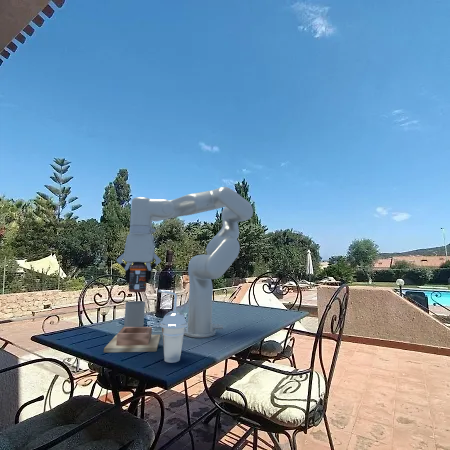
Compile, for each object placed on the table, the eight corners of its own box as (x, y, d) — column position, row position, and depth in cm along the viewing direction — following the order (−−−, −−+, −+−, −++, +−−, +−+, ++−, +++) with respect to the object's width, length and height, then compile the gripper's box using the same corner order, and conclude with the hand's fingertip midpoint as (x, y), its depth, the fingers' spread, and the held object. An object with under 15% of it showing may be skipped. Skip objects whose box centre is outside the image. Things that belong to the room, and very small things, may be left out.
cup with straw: (176, 367, 76) (179, 292, 78) (149, 361, 79) (153, 290, 82) (192, 357, 83) (194, 289, 86) (167, 353, 87) (170, 288, 90)
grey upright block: (132, 328, 117) (134, 304, 118) (119, 325, 121) (121, 302, 123) (147, 325, 124) (149, 302, 125) (135, 322, 128) (136, 300, 130)
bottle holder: (160, 337, 104) (161, 324, 105) (156, 351, 88) (157, 336, 89) (115, 338, 102) (116, 325, 102) (103, 352, 86) (104, 336, 87)
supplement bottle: (140, 293, 94) (142, 259, 96) (125, 292, 96) (126, 259, 97) (149, 291, 100) (150, 259, 102) (134, 290, 102) (135, 259, 103)
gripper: (165, 233, 106) (163, 281, 103) (118, 231, 103) (115, 281, 101) (163, 231, 98) (161, 282, 96) (113, 229, 96) (109, 282, 94)
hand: (137, 281), depth 98 cm, fingers closed on supplement bottle, 5 cm apart
